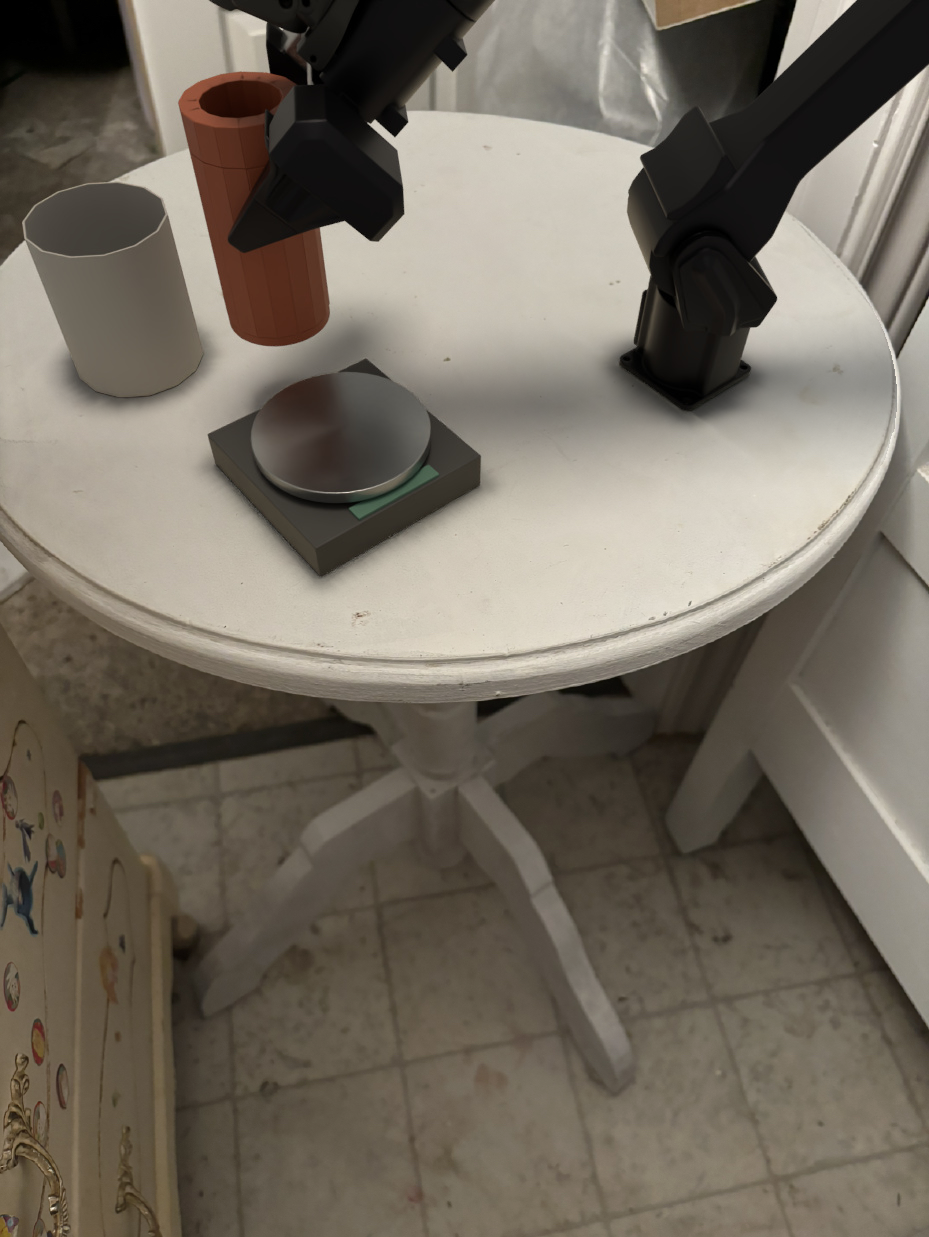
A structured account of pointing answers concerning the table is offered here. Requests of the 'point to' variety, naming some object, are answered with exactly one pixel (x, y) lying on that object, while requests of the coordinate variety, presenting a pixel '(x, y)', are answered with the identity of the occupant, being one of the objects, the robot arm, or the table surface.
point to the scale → (354, 526)
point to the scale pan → (341, 437)
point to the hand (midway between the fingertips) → (236, 213)
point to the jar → (225, 174)
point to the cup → (115, 286)
